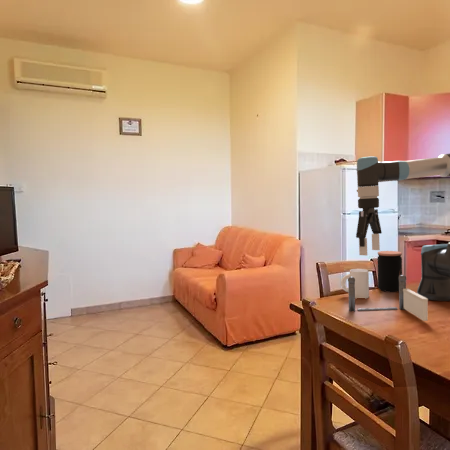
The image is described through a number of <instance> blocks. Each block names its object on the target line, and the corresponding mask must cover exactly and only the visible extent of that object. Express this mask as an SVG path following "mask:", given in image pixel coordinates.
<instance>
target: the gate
mask: <svg viewBox="0 0 450 450" xmlns="http://www.w3.org/2000/svg"><path fill="white" fill-rule="evenodd" d="M403 296H404V309H405V310H404V311H407V312H409V313H410V314H412V315H414V316H415V317H417V318H418V319H420V320H421V321H422V322H423V321H424V322H425V321H426V322H427V321H429V319H428V318H429V317H428V314H429V313H428V310H429V309H428V308H429V307H428V302H429V299H427V298H425V297H423V296H421V295H419V294H417V292H415V291H414V290H411V289H410V288H406V289H403Z"/></svg>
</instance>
